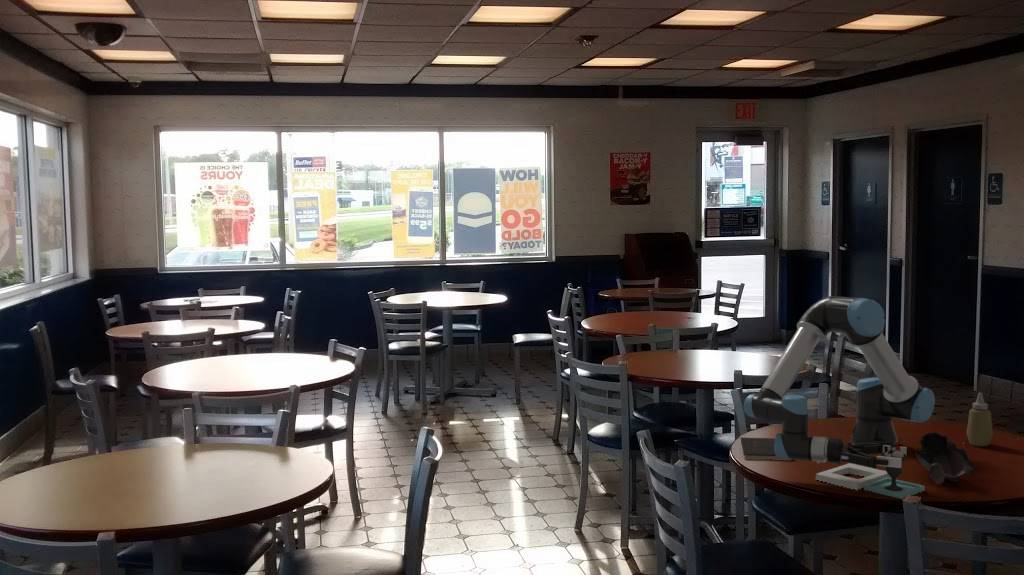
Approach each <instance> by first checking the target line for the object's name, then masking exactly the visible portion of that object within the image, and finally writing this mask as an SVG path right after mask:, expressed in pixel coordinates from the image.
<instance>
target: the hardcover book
mask: <svg viewBox="0 0 1024 575" xmlns="http://www.w3.org/2000/svg"><path fill="white" fill-rule="evenodd" d="M740 443H741V448H742V453H743V456H744V460H756V461H757V460H759V461H761V459H762V461H763V459H764V460H765V459H768V460H767V461H770V460H769V459H772V460H771V461H791V459H787V458H780V457H777V456H776V454H775V451H774V443H775V437H774V438H772V437H770V438H769V437H740ZM792 460H794V461H795V459H792ZM765 461H766V460H765Z"/></svg>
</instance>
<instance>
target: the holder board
mask: <svg viewBox="0 0 1024 575" xmlns="http://www.w3.org/2000/svg"><path fill="white" fill-rule="evenodd" d="M847 474H849V475H853V474H854V475H853V476H857V475H859V477H862V476H864V477H862V478H854V477H850V476H845V475H847ZM886 477H887V478H891V479H892V477H891V476H890V475H888V473H887V471H886V470H883V469H877V468H876V469H874V468H872V467H867V466H863V465H859V464H854V463H850V462H848V463H846V464H844V465H840V466H839V465H838V466H837V467H833V468H831V469H830V468H829V469H828V470H823V471H820V472H817V473H815V481H816V480H819V481H818V482H820V481H823V482H822V483H824V482H827V483H826V484H829V483H831V484H830V485H833V484H834V486H837V485H838V487H841V486H843V487H842V488H845V487H846V488H845V489H849V488H850V489H849V490H853V489H855V490H854V491H859V490H858V489H860V490H862V489H861V488H863V489H864V485H866V484H869V483H872V482H875V481H878V480H881V479H883V478H886Z"/></svg>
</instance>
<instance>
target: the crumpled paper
mask: <svg viewBox="0 0 1024 575" xmlns="http://www.w3.org/2000/svg"><path fill="white" fill-rule="evenodd" d="M949 435H950V434H946V435H941V434H940V433H939V432H937V431H933V432H931V433H925V434H924V435H923V436H921V437H920V438H919V439H918V444H919V445H921V449H920V451H919V449H918V450H917V449H916V448H915V450H914V451H915V452H914V455H915V456H916V458H917V460H918V461H919V463H920V464H921V465H922V466H923V468H924V469H926V470H927V471H928V472H929V473H928V475H929V477H930V478H931V480H932V481H933V483H934V484H935V485H942V484H943V483H944V482H945V480H947V481H951V482H953V483H957V482H958V480H959V476H961V475H964V474H968V475H971V474H973V473H974V470H975V469H974V467H975V464H974V463H972V462H971V460H970V458H969V456H968V453H967V451H966V450H965V449H964V448H958V447H957V445H956V444H955V443H954V442H953V441H952V440H948V436H949ZM970 457H971V458H972V457H973V456H972V455H971V456H970ZM954 481H955V482H954Z"/></svg>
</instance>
